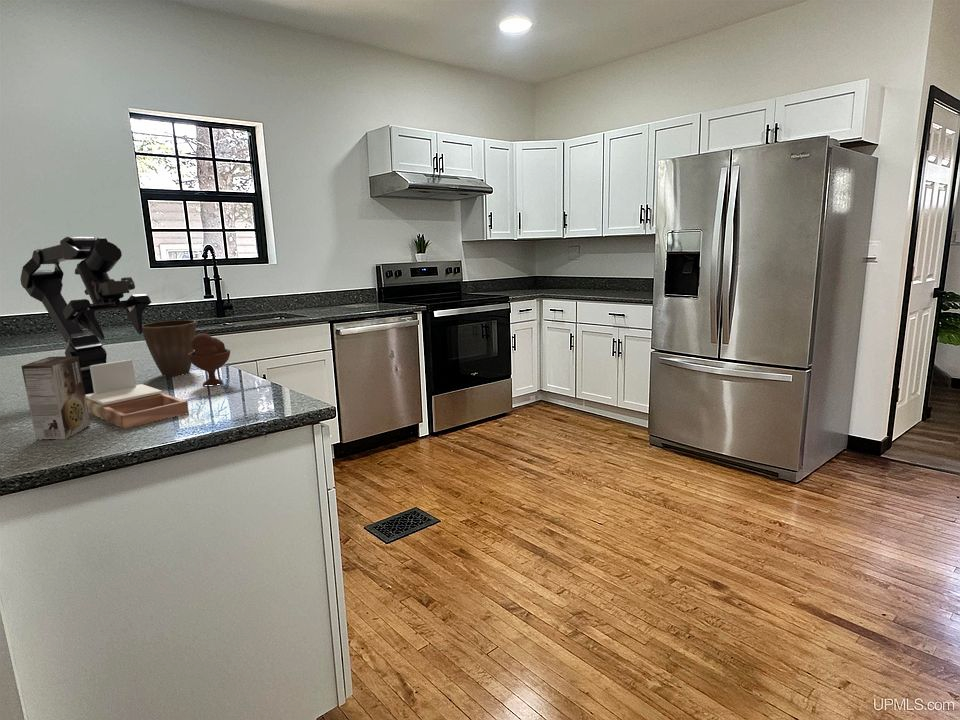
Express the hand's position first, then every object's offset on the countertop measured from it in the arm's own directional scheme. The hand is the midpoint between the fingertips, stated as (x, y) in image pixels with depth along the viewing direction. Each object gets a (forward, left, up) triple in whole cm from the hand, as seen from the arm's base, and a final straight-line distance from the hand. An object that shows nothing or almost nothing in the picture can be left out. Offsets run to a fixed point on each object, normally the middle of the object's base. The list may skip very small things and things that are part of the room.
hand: (122, 336), depth 142 cm
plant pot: (-30, +12, -17) cm, 37 cm away
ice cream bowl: (-8, +20, -17) cm, 28 cm away
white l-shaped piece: (+5, -2, -14) cm, 15 cm away
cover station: (+11, +1, -17) cm, 20 cm away
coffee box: (+20, -13, -17) cm, 29 cm away
